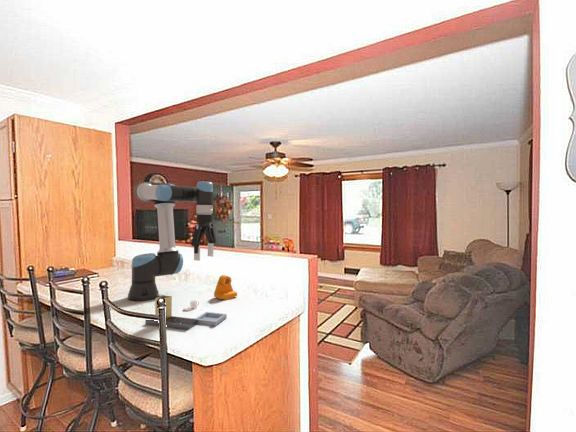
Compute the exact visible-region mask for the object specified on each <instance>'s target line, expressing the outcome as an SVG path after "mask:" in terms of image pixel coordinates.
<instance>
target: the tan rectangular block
mask: <svg viewBox="0 0 576 432" xmlns="http://www.w3.org/2000/svg"><path fill="white" fill-rule="evenodd" d="M159 298H164V299H165V301H166V321H167V320H169V319H171V317H172V316H173V315H172V311H173V310H172V309H173V308H172V307H173V306H172V304H173V303H172V302H173V300H172V298H173V297H172V295H164V294H162V295H160V296H158V297H156V298H154V299H155V305H154V306H155V307H154V309H155V310H154V312H155V314H154V316H155V315H158V309H157V300H158V299H159Z"/></svg>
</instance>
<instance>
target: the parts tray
mask: <svg viewBox="0 0 576 432" xmlns="http://www.w3.org/2000/svg"><path fill="white" fill-rule="evenodd" d="M194 319H198V324H197V325H199V324H200V325H206V326H207V325H208V326H210V327H217V326H219V325H220V324H221V323H222V322H224V321H225V320H226V319H227V313H219V312H212V311H211V312H210V311H205V312H204V313H202V314H200V315H199V316H197V317H195V318H194Z"/></svg>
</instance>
